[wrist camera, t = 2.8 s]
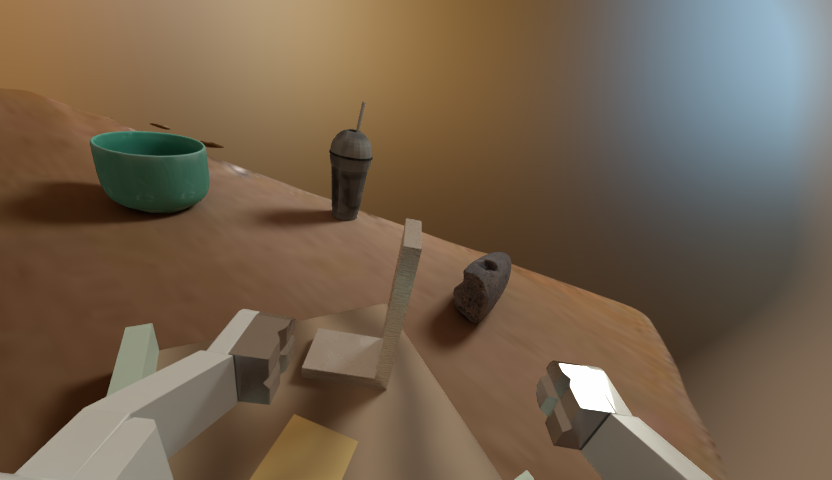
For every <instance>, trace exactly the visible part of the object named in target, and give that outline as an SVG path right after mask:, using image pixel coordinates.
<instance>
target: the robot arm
mask: <svg viewBox="0 0 832 480" xmlns="http://www.w3.org/2000/svg"><path fill="white" fill-rule="evenodd" d="M294 329H295V319H294V318H292V317H286V316H281V315H276V314H271V313H265V312H258V311H253V310H248V309H242V310H240V311H239V312H237V314H236V315H235V316H234V317H233V319H232V320H231V321H230V322H229V323H228V325H227V326H226V327H225V328H224V330H223V331H222V332H221V333H220V334H219V336H218V337H217V338H216V339H215V341H214V342H213V343H212V344H211V345H210V347H209V348H208V349H207V350H206V351H202V350H200V351H198V352H196V353H194V354H192V355H190V356H188V357H186V358H184V359H182V360H180V361H178V362H175V363H173V364H171V365H169V366H167V367H165V368H163V369H161V370H159V371H157V372H155V373H153V374H151V375H149V376H147V377H145V378H143V379H141V380H139V381H137V382H135V383H133V384H131V385H129V386H127V387H125V388H123V389H121V390H119V391H117V392H115V393H113V394H111V395H109V396H107V397H105V398H103V399H101V400H99V401H97V402H95V403H93V404H91V405H89V406H87V407H85V408H83V409H82V410H81V411H80V412H79V413H78V414H77V415H76V416H75V417H74V418H73V419H72V420H71V421H70V422H69V423H67V424H66V425H65V426H64V427H63V428H62V429H61V430H60V431H59V432H58V433H57V434H56V435H55V436H54V437H53V438H52V439H51V440H50V441H48V442H47V443H46V444H45V445H44V446H43V447H42V448H41V449H40V450H39V451H38V452H37V453H36V454H35V455H34V456H33V457H32V458H31V459H29V460H28V461H27V462H26V463H25V464H24V465H23V466H22V467H21V468H20V469H19V470H18V471H17V472H16V473H15V474H8V473H0V480H174V479H173V475H172V472H171V469H170V466H169V463H168V459H169V458H170V457H172V456H173V455H174V454H175V453H177V452H178V451H179V450H180V449H182V448H183V447H184V446H185V445H187V444H188V443H189V442H190V441H192V440H193V439H194V438H195V437H197V436H198V435H199V434H200V433H202V432H203V431H204V430H205V429H207V428H208V427H209V426H210V425H212V424H213V423H214V422H215V421H217V420H218V419H219V418H220V417H222V416H223V415H224V414H225V413H227V412H228V411H229V410H230V409H232V408H233V407H234V406H235V405H237V404H238V401H239V402H248V403H256V404H265V405H270V404H271V402H272V400H273V397H274V395H275V393H276V391H277V389H278V387H279V385H280V374H282V373H283V372H285V371H286V370H287V368H288V366H289V364H290V362H291V358H292V355H293V352H294V347H295V338H294V336H293V335H292V333H293V331H294ZM546 369H547V372H548V374H547V375H545V376H543V377H541V378H540V380H539V382H538V384H537V392H536V395H537V401H538V404H539V407H540V409H541V410H542V411H543V412H544V413H545V414H546V416H547V419H546V422H545V423H546V426H547V429H548V431H549V434H550V437H551V440H552V442H553V445H554V446H560V447H565V448H571V449H577V450H581V453H582V454H583V455H584V457H585V458H586V459H587V460H588V462H589V463H590V464H591V465H592V467H593V468H594V469H595V470H596V472H597V473H598V474H599V475H600V476H601V478H602V479H603V480H713V479H711V478H710V477H709V476H708V475H707V474H705V473H704V472H703V471H702V470H701V469H699V468H698V467H697V466H696V465H695V464H693V463H692V462H691V461H690V460H689V459H687V458H686V457H685V456H684V455H683V454H681V453H680V452H679V451H678V450H677V449H675V448H674V447H673V446H672V445H670V444H669V443H668V442H667V441H666V440H664V439H663V438H662V437H661V436H660V435H658V434H657V433H656V432H655V431H654V430H652V429H651V428H650V427H649V426H648V425H646V424H645V423H644V422H643V421H642V420H640V419H639V418H638V417H633V416H632V414H631V413H630V411H629V410H628V408H627V406H626V405H625V403H624V402H623V400H622V399H621V397H620V396H619V394H618V392H617V391H616V389H615V388H614V386H613V385H612V383H611V382H610V380H609V378H608V377H607V375H606V374H605V372H604V371H603V370H602V369H600V368H599V367H593V366H586V365H579V364H573V363H567V362H560V361H552V362H550V363H549V365H548V366H547V368H546Z"/></svg>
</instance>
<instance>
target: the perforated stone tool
mask: <svg viewBox="0 0 832 480" xmlns="http://www.w3.org/2000/svg"><path fill="white" fill-rule="evenodd" d="M510 272H511V260H510V257H509V256H508V255H507V254H506V253H503V252H494V253H491V254H488V255H485V256H483V257H481V258H479V259H477V260H475V261H474V262H472V263H471V264H470V265H469V266H468V267H467V268H466V269H465V270H464V281H463V282H462V283H461V284H459V285H458V286H457V287H455V288H454V296H455V308H456V309H457V310H459V311H460V313H461V314H463V315H465V316H466V318H467V319H469V320H470V322H473V323H478V322H479V321H480V320H482V319H483V318H484V317H485V316H486V315H487V314H488V313H489V312H490V310H491V309H492V308H493V307H494V305H495V304H496V302H497V301H498V300H499V298H500V297H501V295H502V293H503V291H504V289H505V287H506V285H507V283H508V280H509V276H510Z"/></svg>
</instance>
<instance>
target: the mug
mask: <svg viewBox="0 0 832 480" xmlns="http://www.w3.org/2000/svg"><path fill="white" fill-rule="evenodd" d="M90 146H91V151H92V155H93V160H94V164H95V168H96V171H97V175H98V178H99V181H100V184H101V186H102V188H103V190H104V191H105V193H106V194H107V195H108V196H109V197H110V198H111V199H112V200H113V201H115V202H117V203H118V204H121V205H123V206H126V207H128V208H132V209H136V210H140V211H144V212H150V213H170V212H176V211H181V210H184V209H186V208H188V207H190V206H192V205H194V204H196V203H198V202H199V201H201V200H202V199H203V198H204V197H205V196H206V194H207V192H208V189H209V171H208V161H207V154H206V148H205V146H204V144H203V143H201V142H200V141H198V140H195V139H192V138H189V137H185V136H180V135H174V134H168V133H157V132H142V131H123V132H109V133H104V134H99V135H96V136H94V137H92V138H91V140H90Z"/></svg>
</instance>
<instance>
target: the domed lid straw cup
mask: <svg viewBox="0 0 832 480" xmlns="http://www.w3.org/2000/svg"><path fill="white" fill-rule="evenodd" d="M364 107H365V103H364V102H362V106H361V111H360V116H359V120H358V124H357V129H356V130H352V129H347V130H343V131H341V132H340V133H338V134H337V135H336V137H335V138H334V139H333V141H332V144H331V149H330V151H329V152H330V160H331V164H332V211H333V213H332V215H333V216H334V217H335V218H337V219H339V220H344V221H350V220H354V219H356V218H357V214H358V211H359V206H360V202H361V197H362V192H363V189H364V184H365V180H366V175H367V171H368V169H369V167H370V163H371V160H372V148H371V144H370V142H369V140H368V138H367V137H366V136H365V135H364V134H363V133H361V132H360V131H359V129H360V125H361V120H362V115H363V111H364Z"/></svg>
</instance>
